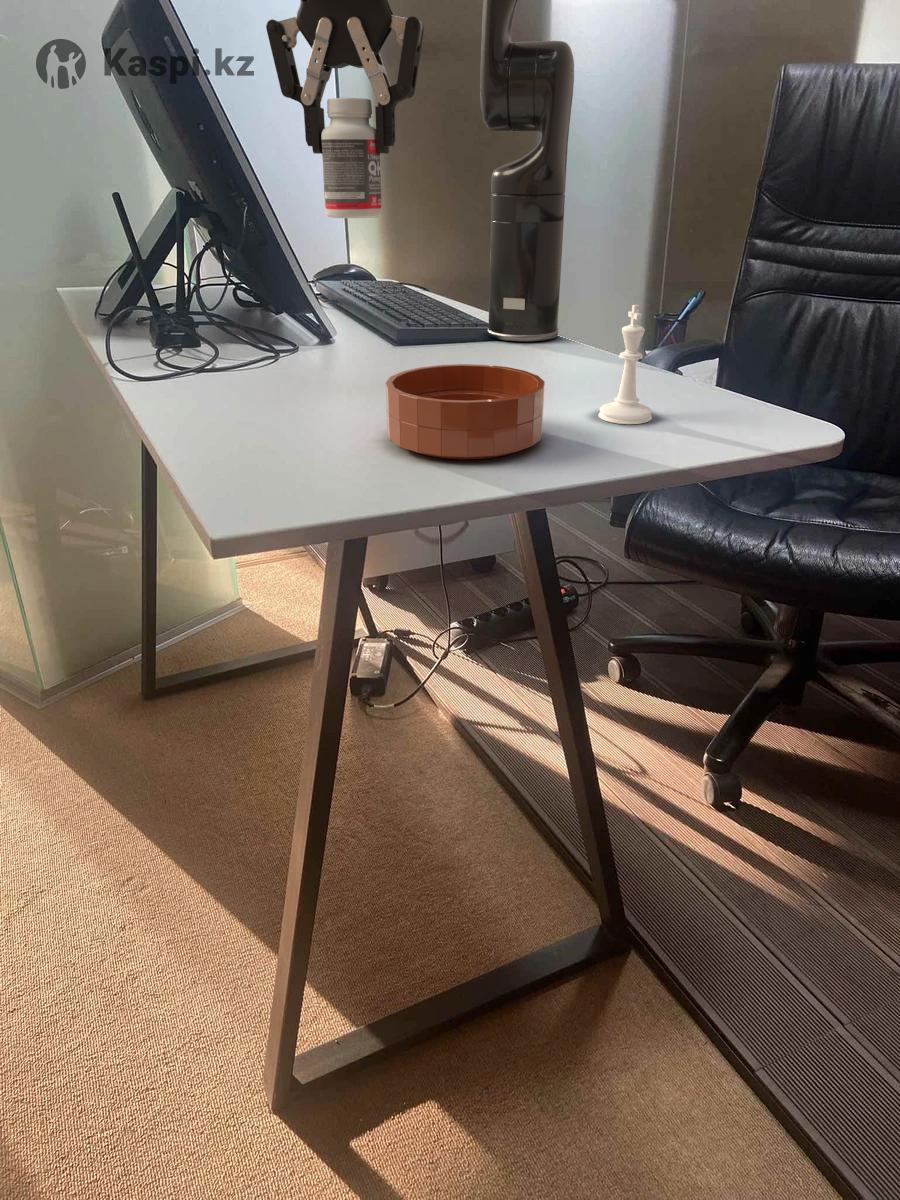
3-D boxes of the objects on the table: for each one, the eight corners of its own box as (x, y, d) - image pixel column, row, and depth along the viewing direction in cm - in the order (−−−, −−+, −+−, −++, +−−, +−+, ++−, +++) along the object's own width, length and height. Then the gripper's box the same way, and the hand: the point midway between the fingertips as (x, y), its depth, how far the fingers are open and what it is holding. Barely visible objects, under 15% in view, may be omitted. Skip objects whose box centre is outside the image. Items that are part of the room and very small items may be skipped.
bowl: (403, 416, 80) (402, 362, 78) (544, 421, 79) (547, 366, 77) (373, 460, 69) (370, 399, 67) (537, 468, 67) (540, 405, 65)
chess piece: (612, 426, 77) (622, 311, 73) (590, 411, 82) (598, 302, 77) (661, 422, 79) (674, 308, 74) (637, 408, 83) (648, 299, 78)
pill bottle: (383, 219, 80) (380, 97, 75) (325, 219, 79) (318, 96, 75) (380, 216, 84) (376, 101, 80) (325, 216, 84) (318, 100, 79)
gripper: (432, -67, 74) (433, 154, 82) (272, -62, 76) (288, 153, 83) (417, -90, 67) (420, 153, 75) (242, -84, 69) (262, 152, 77)
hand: (350, 152), depth 79 cm, fingers closed on pill bottle, 5 cm apart
